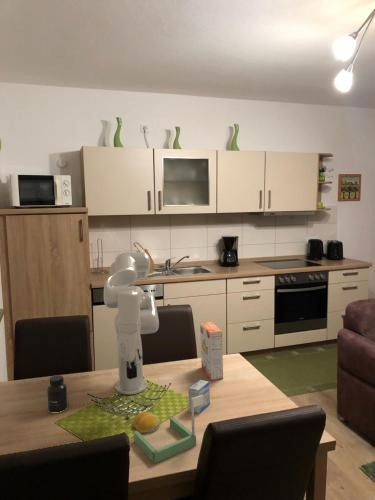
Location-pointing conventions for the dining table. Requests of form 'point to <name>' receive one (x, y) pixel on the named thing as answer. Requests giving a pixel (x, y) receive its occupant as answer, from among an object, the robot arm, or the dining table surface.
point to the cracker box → (211, 350)
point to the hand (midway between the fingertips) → (131, 377)
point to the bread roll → (146, 422)
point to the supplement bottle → (57, 394)
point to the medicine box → (200, 389)
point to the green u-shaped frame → (177, 446)
